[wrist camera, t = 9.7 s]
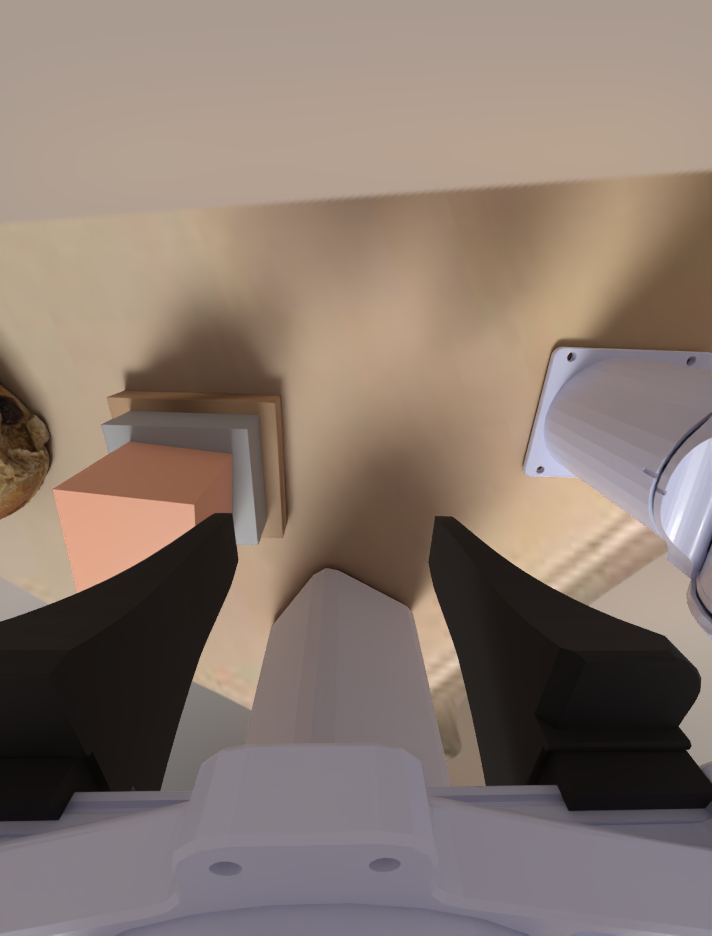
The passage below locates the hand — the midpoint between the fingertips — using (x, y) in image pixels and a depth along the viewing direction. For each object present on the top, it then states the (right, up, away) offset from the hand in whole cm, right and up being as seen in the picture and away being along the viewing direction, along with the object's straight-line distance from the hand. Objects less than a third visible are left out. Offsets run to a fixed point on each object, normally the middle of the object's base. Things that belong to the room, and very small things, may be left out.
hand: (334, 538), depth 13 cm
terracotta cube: (-8, +1, +6) cm, 10 cm away
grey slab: (-8, +2, +8) cm, 12 cm away
